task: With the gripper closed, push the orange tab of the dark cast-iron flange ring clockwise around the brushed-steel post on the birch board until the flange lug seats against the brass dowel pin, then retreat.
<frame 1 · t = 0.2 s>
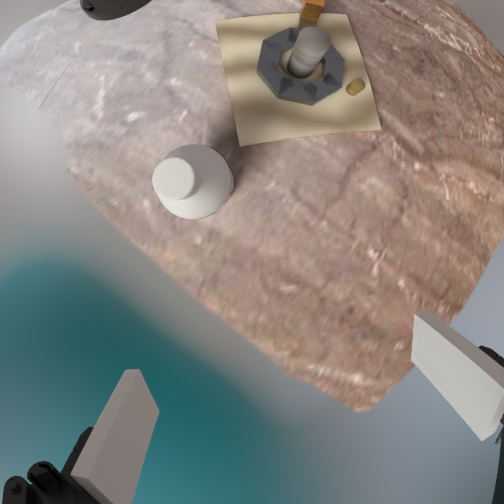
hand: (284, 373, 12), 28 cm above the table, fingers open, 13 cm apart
flange: (306, 45, 29), point 4 cm above the table, hinge at 160.0°
post base: (298, 70, 34), on the table
bath foam: (207, 184, 37), on the table
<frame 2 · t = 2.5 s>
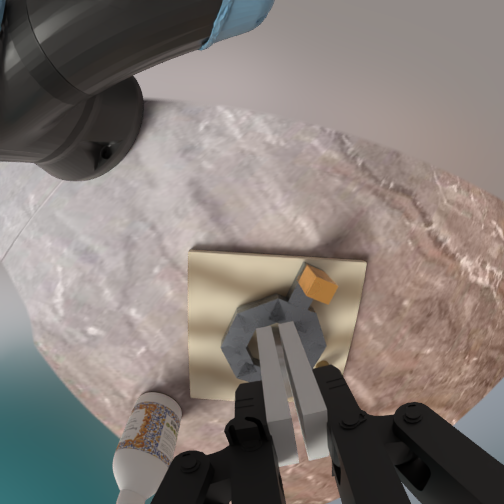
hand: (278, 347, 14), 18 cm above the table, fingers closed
flange: (285, 337, 30), point 4 cm above the table, hinge at 160.0°
post base: (272, 335, 34), on the table
bath foam: (159, 406, 37), on the table
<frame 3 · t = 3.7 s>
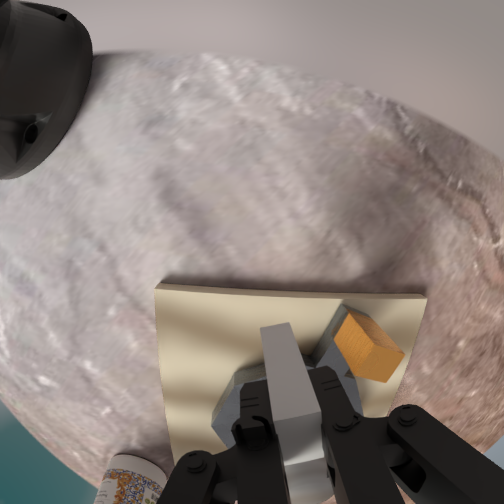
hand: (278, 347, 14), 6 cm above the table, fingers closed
flange: (308, 417, 17), point 4 cm above the table, hinge at 160.0°
post base: (285, 400, 22), on the table
bath foam: (138, 468, 24), on the table
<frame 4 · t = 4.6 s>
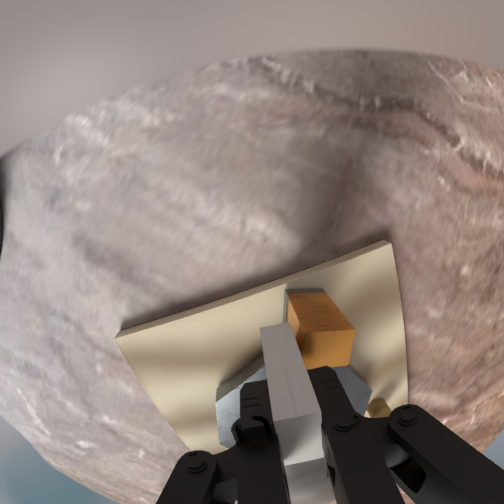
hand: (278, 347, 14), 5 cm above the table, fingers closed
flange: (301, 413, 17), point 4 cm above the table, hinge at 160.0°, touching gripper
post base: (288, 396, 21), on the table
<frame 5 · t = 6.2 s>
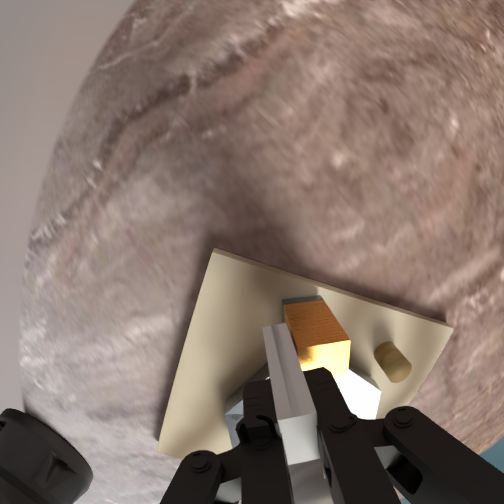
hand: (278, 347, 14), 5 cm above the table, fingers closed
flange: (309, 419, 16), point 4 cm above the table, hinge at 114.2°, touching gripper
post base: (299, 401, 21), on the table
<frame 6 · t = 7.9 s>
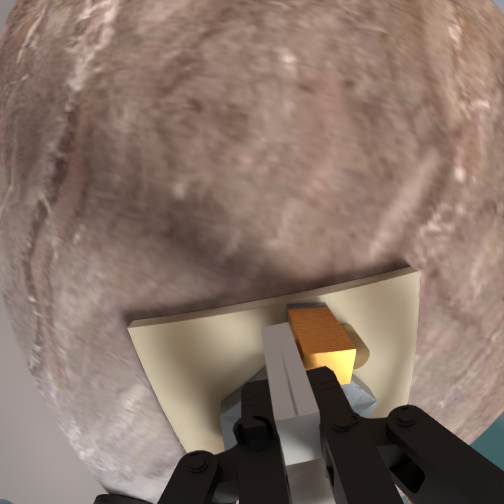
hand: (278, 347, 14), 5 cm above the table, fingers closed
flange: (305, 425, 16), point 4 cm above the table, hinge at 80.4°, touching gripper
post base: (293, 406, 21), on the table
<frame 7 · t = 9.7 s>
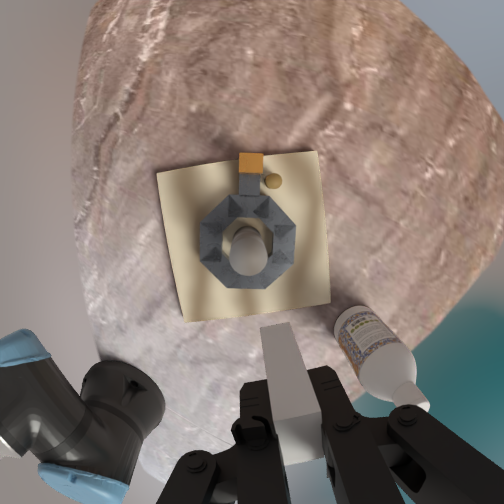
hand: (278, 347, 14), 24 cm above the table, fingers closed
flange: (248, 226, 32), point 4 cm above the table, hinge at 80.3°
post base: (247, 238, 37), on the table
bath foam: (354, 324, 41), on the table
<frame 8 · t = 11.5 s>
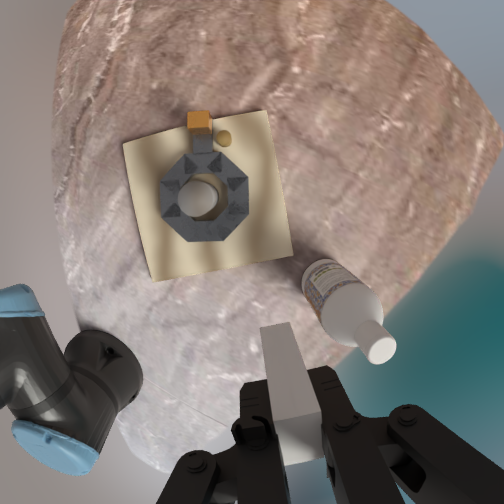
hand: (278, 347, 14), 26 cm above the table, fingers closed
flange: (201, 179, 34), point 4 cm above the table, hinge at 80.3°
post base: (206, 196, 38), on the table
bath foam: (323, 280, 42), on the table
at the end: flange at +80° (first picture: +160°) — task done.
